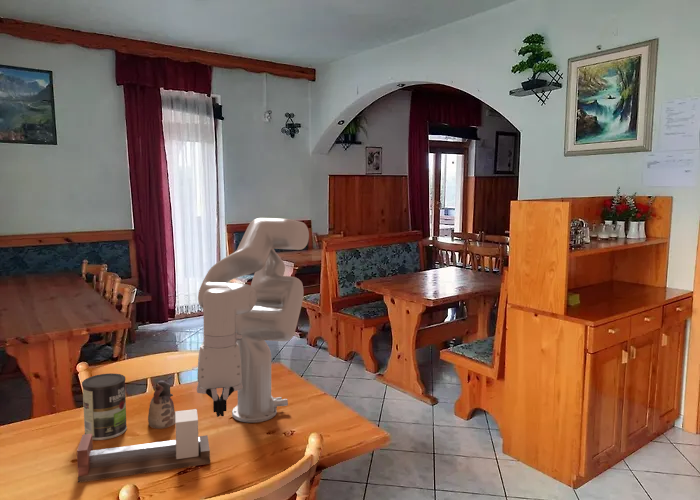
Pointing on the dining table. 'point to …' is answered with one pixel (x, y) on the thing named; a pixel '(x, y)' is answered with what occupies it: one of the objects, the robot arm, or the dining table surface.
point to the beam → (133, 453)
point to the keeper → (186, 433)
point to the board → (136, 467)
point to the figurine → (161, 407)
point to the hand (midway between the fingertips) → (219, 414)
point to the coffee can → (104, 406)
